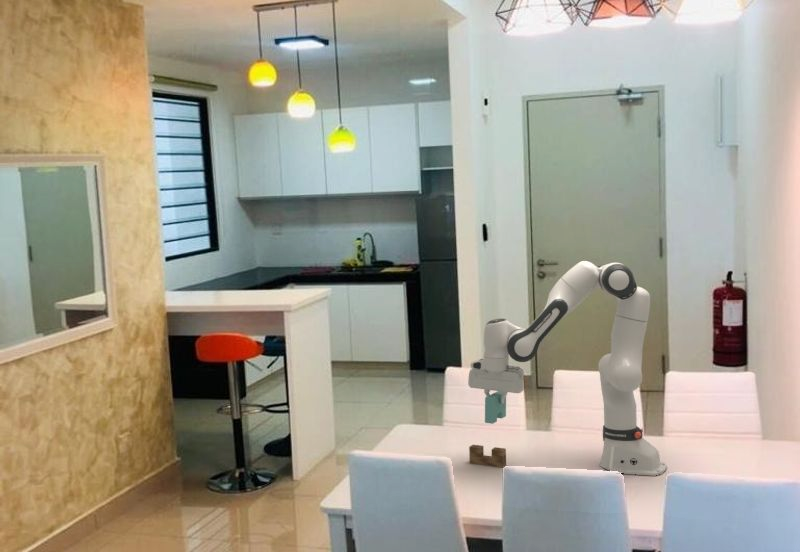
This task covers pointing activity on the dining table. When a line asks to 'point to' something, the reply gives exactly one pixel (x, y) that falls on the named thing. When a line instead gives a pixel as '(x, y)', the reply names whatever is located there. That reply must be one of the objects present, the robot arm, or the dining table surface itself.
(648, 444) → the robot arm
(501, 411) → the cross plate
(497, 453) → the stand plate
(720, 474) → the dining table surface
